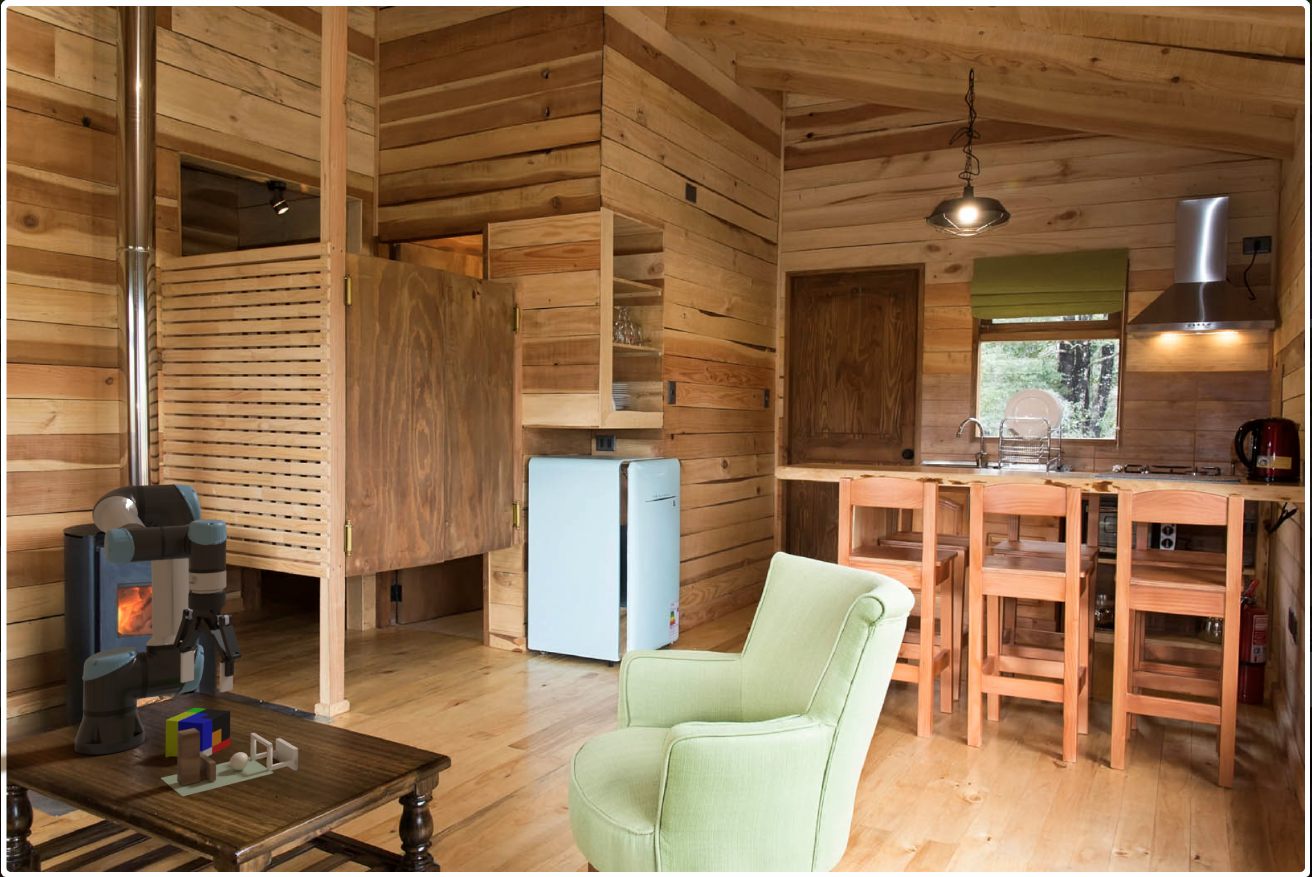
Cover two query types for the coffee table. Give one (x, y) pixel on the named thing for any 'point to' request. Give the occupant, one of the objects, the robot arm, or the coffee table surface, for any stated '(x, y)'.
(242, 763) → the ball
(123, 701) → the robot arm
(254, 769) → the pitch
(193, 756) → the kicker
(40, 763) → the coffee table surface
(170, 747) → the puzzle toy
